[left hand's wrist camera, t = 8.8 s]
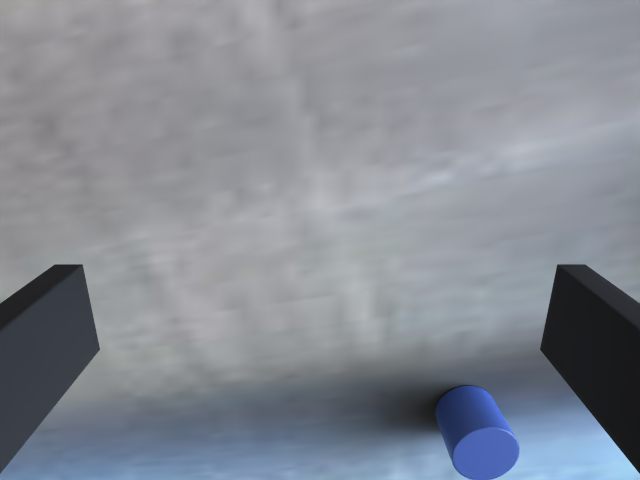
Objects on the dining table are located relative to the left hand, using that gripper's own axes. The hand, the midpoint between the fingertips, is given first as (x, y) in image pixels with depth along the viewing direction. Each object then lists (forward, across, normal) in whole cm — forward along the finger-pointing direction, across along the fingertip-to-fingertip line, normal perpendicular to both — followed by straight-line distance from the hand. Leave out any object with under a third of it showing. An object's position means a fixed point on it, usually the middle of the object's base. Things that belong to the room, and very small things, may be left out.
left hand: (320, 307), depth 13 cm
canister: (+16, +11, -18) cm, 26 cm away
